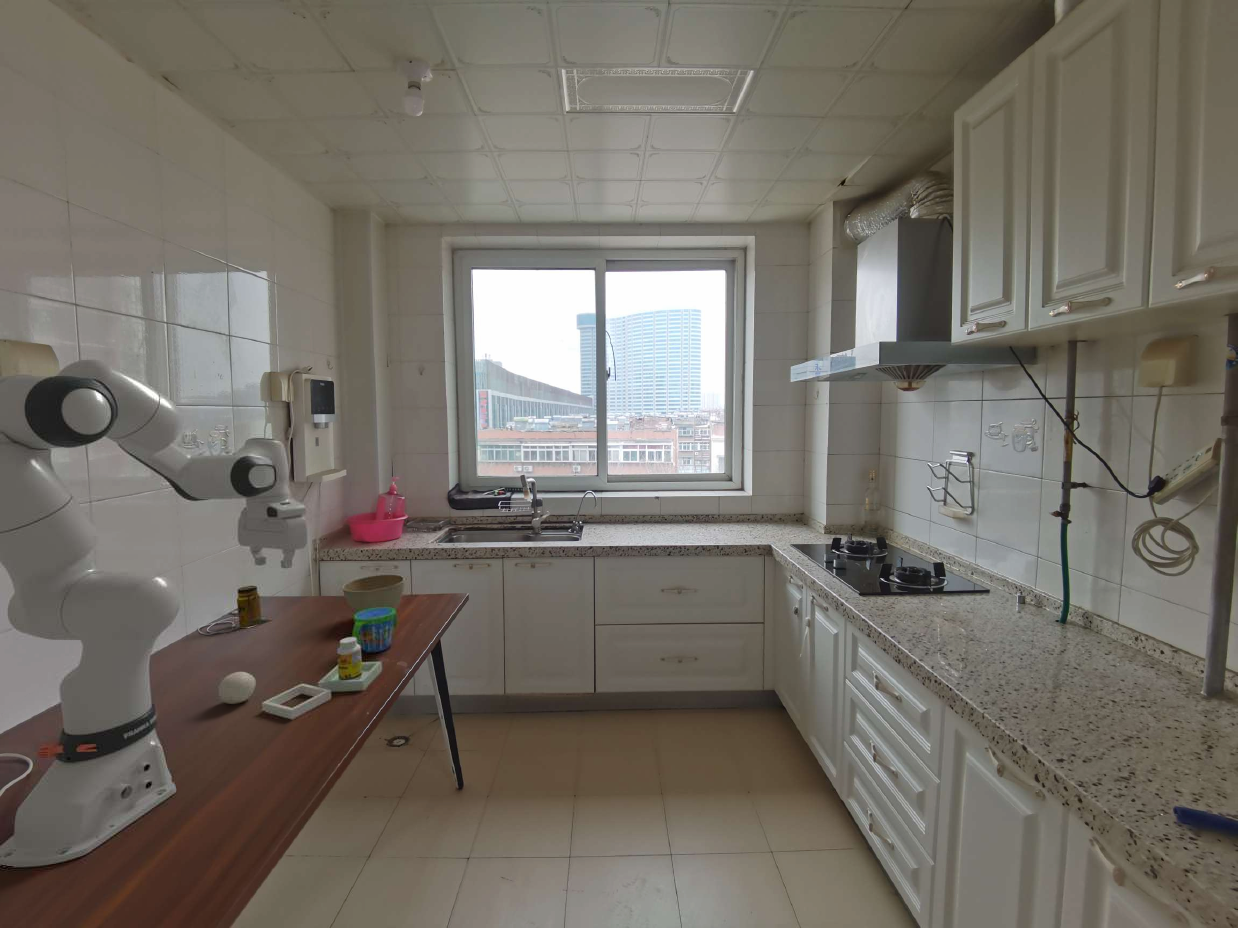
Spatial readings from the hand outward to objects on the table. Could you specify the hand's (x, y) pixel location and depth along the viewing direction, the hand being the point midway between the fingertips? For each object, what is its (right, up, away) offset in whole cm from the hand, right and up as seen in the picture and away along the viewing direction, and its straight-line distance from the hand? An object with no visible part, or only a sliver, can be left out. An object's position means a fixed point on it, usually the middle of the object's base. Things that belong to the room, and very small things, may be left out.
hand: (273, 566), depth 132 cm
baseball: (-6, -31, -3) cm, 31 cm away
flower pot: (+3, -26, +49) cm, 56 cm away
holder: (+9, -30, -6) cm, 32 cm away
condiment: (-37, -28, +50) cm, 68 cm away
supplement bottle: (+16, -28, +5) cm, 33 cm away
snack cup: (+13, -28, +25) cm, 40 cm away
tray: (+16, -29, +5) cm, 33 cm away
